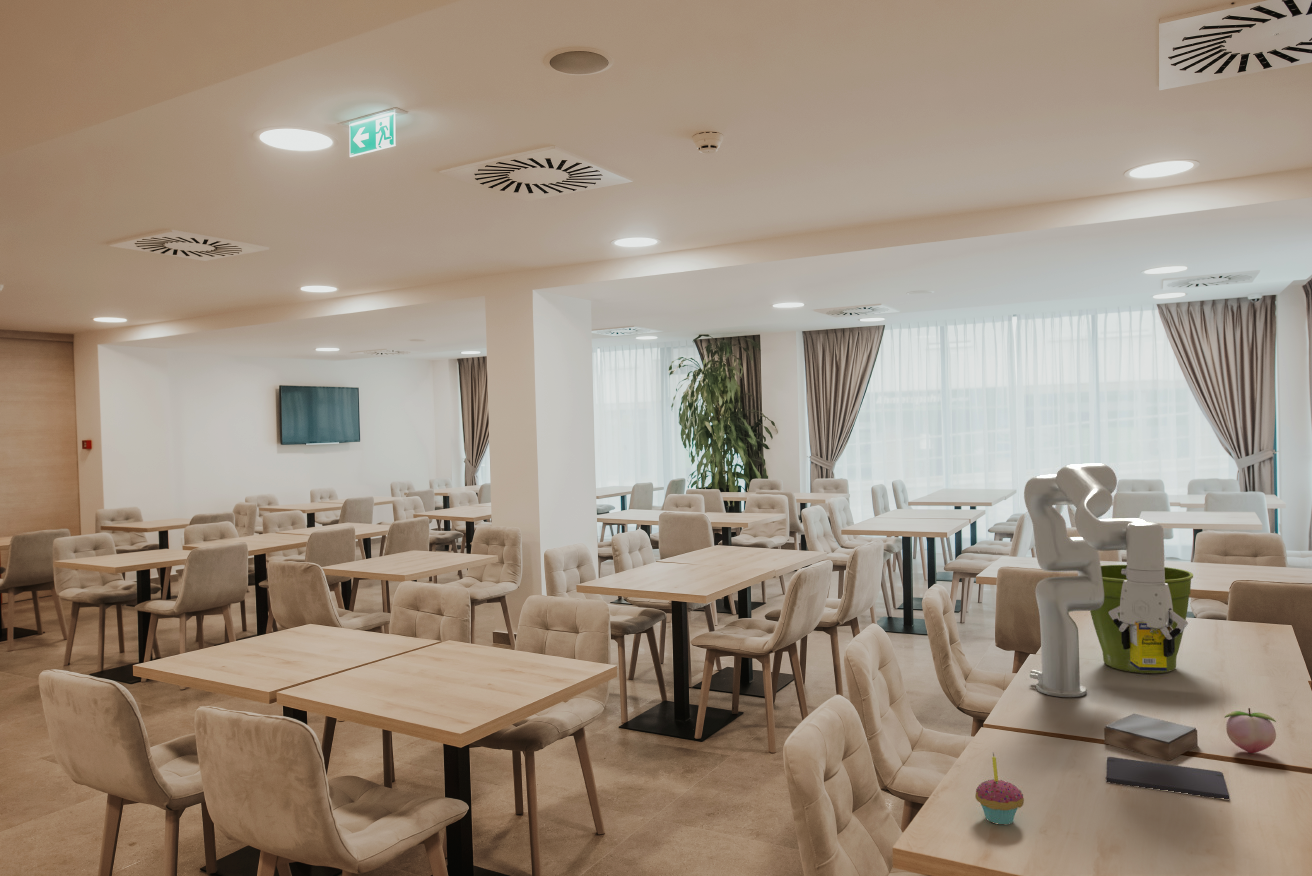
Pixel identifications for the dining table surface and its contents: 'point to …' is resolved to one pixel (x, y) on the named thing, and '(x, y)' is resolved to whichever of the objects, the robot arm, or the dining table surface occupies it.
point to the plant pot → (1104, 623)
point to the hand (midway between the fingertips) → (1147, 651)
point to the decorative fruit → (1250, 730)
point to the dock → (1151, 736)
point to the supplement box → (1147, 648)
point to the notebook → (1166, 777)
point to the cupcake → (999, 798)
